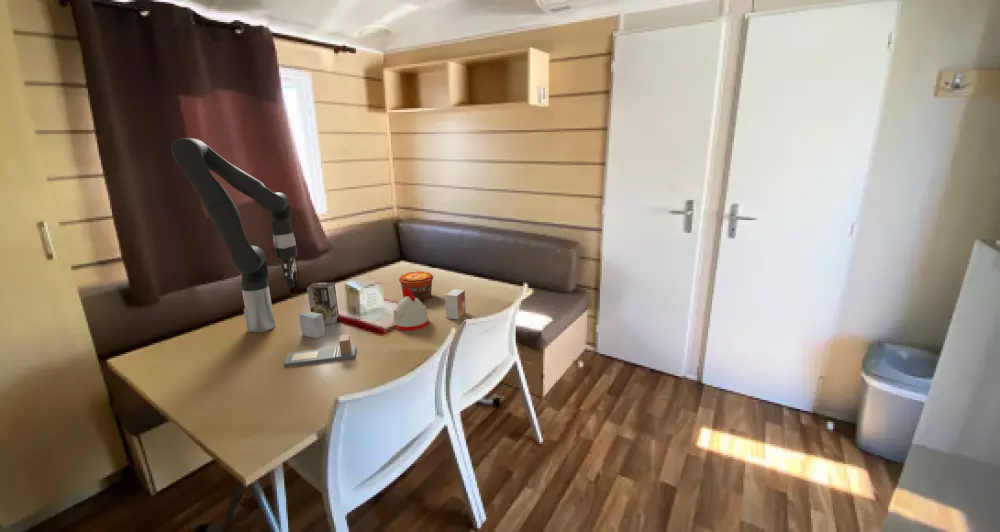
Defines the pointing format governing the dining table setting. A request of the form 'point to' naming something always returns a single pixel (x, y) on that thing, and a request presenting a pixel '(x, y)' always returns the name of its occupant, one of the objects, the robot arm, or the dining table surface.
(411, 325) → the kitchen timer
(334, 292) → the coffee box
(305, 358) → the ticket
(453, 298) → the small box
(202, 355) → the dining table surface
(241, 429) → the dining table surface
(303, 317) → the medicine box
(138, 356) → the dining table surface
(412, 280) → the food container
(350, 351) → the stub
